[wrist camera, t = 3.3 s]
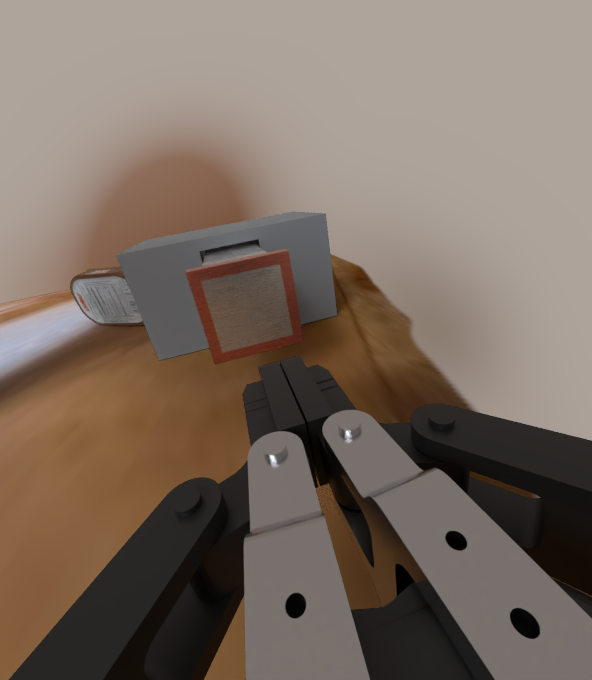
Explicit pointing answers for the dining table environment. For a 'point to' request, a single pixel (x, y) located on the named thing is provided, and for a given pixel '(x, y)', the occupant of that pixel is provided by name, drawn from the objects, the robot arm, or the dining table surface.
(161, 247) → the socket block
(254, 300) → the plug
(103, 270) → the tin
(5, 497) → the dining table surface
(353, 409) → the robot arm
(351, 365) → the dining table surface
